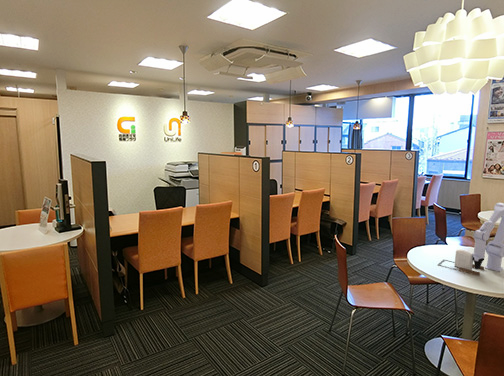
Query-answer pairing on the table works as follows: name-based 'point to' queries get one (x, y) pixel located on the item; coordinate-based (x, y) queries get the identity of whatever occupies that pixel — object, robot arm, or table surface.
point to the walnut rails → (471, 270)
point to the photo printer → (464, 259)
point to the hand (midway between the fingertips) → (477, 268)
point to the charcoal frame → (445, 266)
